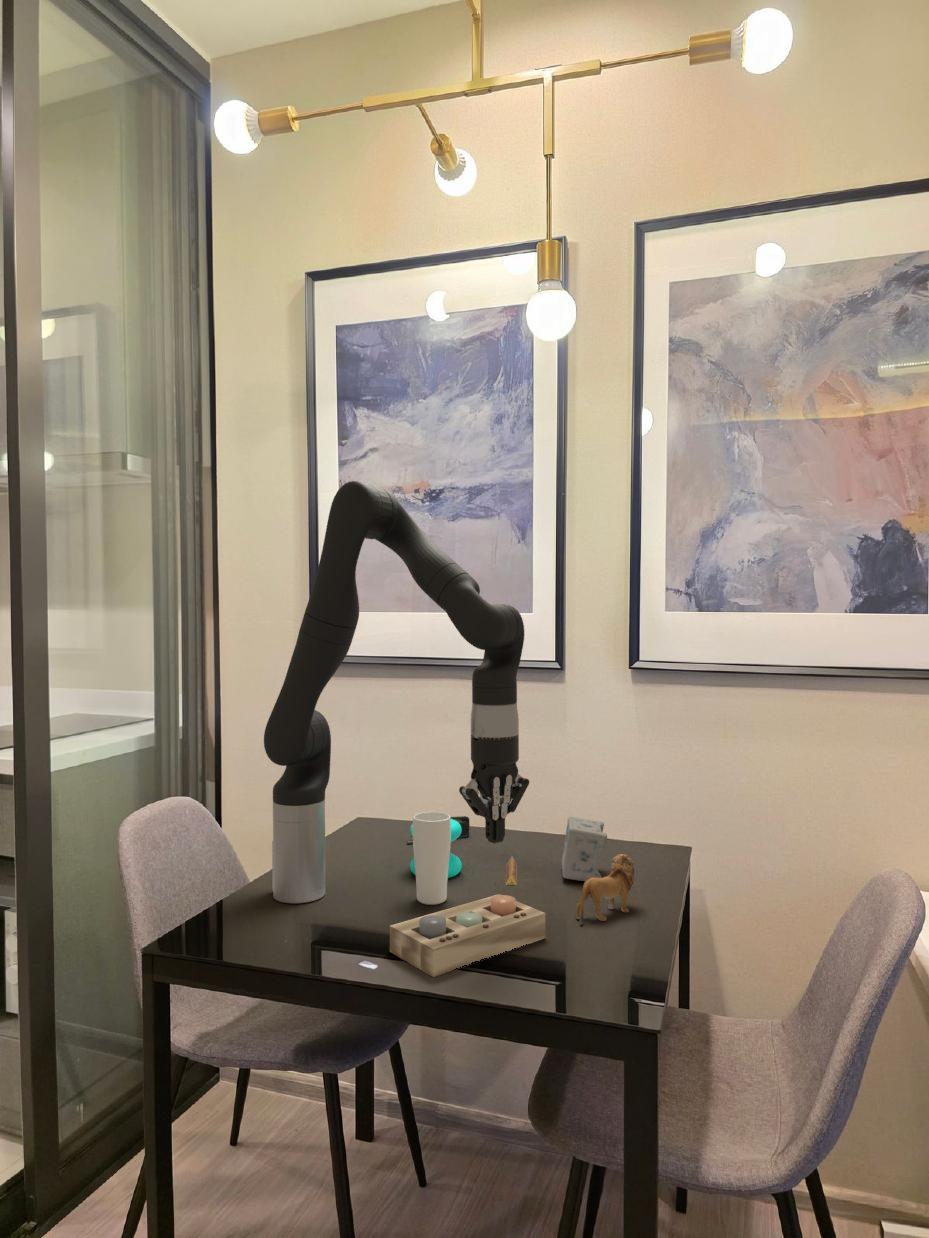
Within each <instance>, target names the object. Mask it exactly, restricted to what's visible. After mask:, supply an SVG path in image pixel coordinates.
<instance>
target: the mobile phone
mask: <svg viewBox="0 0 929 1238" xmlns="http://www.w3.org/2000/svg"><path fill="white" fill-rule="evenodd" d="M450 817H451V819H453V820H455V821H457V822H458V823H459V824H460V825H461V828H462V832H461V834H460V836H459V837H458V838H462V839H466V837H467V838H468V837H469V836H470V818H469V816H465V815H464V816H450ZM412 824H413V822H412ZM412 824H411V825H412ZM410 836H411V838H412V839H411V840H407V841H406V844H408V845H410V844H412V845H413V837H412V835H411V834H410Z"/></svg>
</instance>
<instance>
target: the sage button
mask: <svg viewBox="0 0 929 1238" xmlns="http://www.w3.org/2000/svg"><path fill="white" fill-rule="evenodd" d="M456 923H458V924H460V925H462V926H464V927H466V928H468V927H471V926H474V925H477V924H480V923H482V916H481V915H480V914H477V913H472V912H467V913H461V914H458V915H457V916H456Z"/></svg>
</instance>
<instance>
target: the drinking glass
mask: <svg viewBox="0 0 929 1238" xmlns="http://www.w3.org/2000/svg"><path fill="white" fill-rule="evenodd" d="M451 817H452V816H451V815H450V814H448V813H446V812H441V811H440V812H439V811H425V812H419V813H416V814H414V815H413V817H412V819H413V820H412V823H413V838H412V839H413V843H412V846H413V847H412V848H413V858H414V861H415V874H416V875H415V882H416V884H415V885H416V887H415V888H416V900H417V901H418V902H419V903H420V904H423V905H429V906H430V905H431V906H435V905H441V904H443V903H444V902H445V901H446V900H447V899H448V880H449V878H448V868H449V856H450V853H451V843H452V842H451Z"/></svg>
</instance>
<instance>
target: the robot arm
mask: <svg viewBox="0 0 929 1238" xmlns="http://www.w3.org/2000/svg"><path fill="white" fill-rule="evenodd" d="M327 518H328V519H327V522H326V523H327V524H326V529H325V534H324V539H323V545H322V550H321V554H320V558H319V563H318V566H317V570H316V574H315V578H314V581H313V584H312V585H313V586H312V588H311V591H310V596H309V599H308V600H307V601H308V602H307V605H306V607H305V610H304V614H303V617H302V621H301V624H300V627H299V629H298V630H299V631H298V635H297V639H296V642H295V645H294V650H293V652H292V655H291V658H290V661H289V665H288V668H287V672H286V675H285V678H284V681H283V684H282V686H281V689H280V692H279V694H278V696H277V698H276V701H275V703H274V706H273V708H272V710H271V712H270V715H269V717H268V720H267V723H266V725H265V729H264V733H263V746H264V751H265V753H266V756H267V758H268V759H269V760H270V761H271V762H272V763H273V764H275V765H278V766H281V767H285V769H284V771H283V774H282V775H281V777H280V778H279V779H278V780H277V782H275V784H274V785H273V788H272V843H271V847H272V848H271V850H272V851H271V853H272V854H271V855H272V857H271V859H272V861H271V862H272V865H271V867H272V871H271V872H272V876H271V877H272V885H271V886H272V890H271V891H272V892H273V893H272V894H273V895H272V897H273V899H275V901H278V902H280V903H285V904H304V903H305V904H306V903H310V902H313V901H314V902H315V901H317V900H320V899H322V898H323V897H324V896H325V895H326V789H327V787H328V785H329V781H330V776H331V775H330V774H331V755H332V754H331V753H332V751H331V750H332V735H331V730H330V729H331V728H330V725H329V722H328V721H327V719H326V717H325V716H324V715H323V713H321V712H320V711H318V710H317V709H316V706H317V704H318V701H319V698H320V696H321V694H322V692H324V689H325V687H326V686H327V684H328V683H329V682H330V681H331V679H332V678H333V676H334V675H335V674H336V672H337V671H338V669H339V667H340V666H341V665H342V663H343V662H344V660H345V658H346V656H347V655H348V652H349V650H350V648H351V644H352V642H353V639H354V637H355V631H356V630H357V626H358V621H359V618H360V601H359V600H360V599H359V595H358V587H357V578H356V575H357V574H356V571H357V565H358V560H359V557H360V553H361V550H362V547H363V545H364V541H365V539H366V540H375V541H377V542H379V543H380V544H383V545H384V546H385V547H387V548H389V549H390V550H391V551H393V552H394V553H395V554H396V555H397V556H399V558H400V559H401V560H402V561H403V562H404V564H405V566H406V567H407V569H408V571H409V574H410V576H411V577H412V579H413V580H414V582H415V583H416V585H417V586H419V588H420V589H421V591H423V592H424V594H426V595H427V596H428V598H429V599H431V600H432V601H433V602H434V603H435V604H436V605H437V606H438V607H440V608H441V609H442V610H443V611H444V612H445V613H446V615H447V617H448V618H449V620H450V622H451V623H452V624H453V626H454V627H455V629H456V630H457V631H458V633H459V634H460V636H461V637H462V638H463V639H464V640H465V641H466V642H467V643H469V644H470V645H471V646H472V647H474V648H477V649H479V650H482V651H484V652H483V658H482V662H481V664H480V665H478V666H477V667H475V668H474V670H473V672H472V676H471V679H472V680H471V691H472V692H471V693H472V694H471V697H472V698H471V700H472V703H471V712H470V760H471V763H472V766H473V768H472V771H471V773H470V780H469V782H467V784H466V785H465V786H464V785H462V786H460V787H459V788H458V789H459V790H458V792H459V793H460V795H461V796H462V798H463V799H464V801H465V802H466V804H467V805H468V807H470V809H471V810H472V812H473V813H474V814H475V816H480V817H482V818H484V820H485V824H484V825H485V838H486V839H487V841H488V842H489V843H493V844H499V843H502V842H504V838H505V836H506V817H507V816H508V815H509V814H510V813H515V812H516V809H517V808H518V806H519V805H520V802H521V801H522V798H523V796H524V794H525V792H526V790H527V788H528V787H529V785H530V779H528V778H525V777H523V776H521V774H519V768H518V766H517V762H518V761H519V757H520V753H519V752H520V749H519V747H520V739H519V738H520V735H519V734H520V731H519V722H520V721H519V711H518V683H517V675H518V670H519V666H520V664H521V659H522V658H521V657H522V654H523V649H524V643H525V625H524V621H523V617H522V615H521V613H520V612H519V610H518V609H516V608H515V607H514V606H512V605H510V604H506V603H505V604H503V603H501V604H497V603H496V604H495V603H494V604H491V603H489V602H488V601H487V600H485V599H484V598H483V597H482V596H481V595H480V593H481V589H480V586H479V583H478V582H477V581H476V580H475V578H473V576H472V575H470V574H469V572H467V571H466V570H465V569H464V568H463V567H462V566H461V565H459V564H458V563H457V562H456V561H454V560H453V559H452V558H451V557H450V556H449V555H448V554H447V553H446V552H445V551H444V550H442V549H441V548H440V547H439V546H438V545H437V543H435V542H434V541H433V540H432V539H431V537H429V536H428V535H427V534H426V532H425V531H424V530H423V529H422V528H421V527H420V526H419V525H418V523H417V522H416V521H415V520H414V519H413V517H412V516H411V514H410V513H409V512H408V511H407V509H406V508H405V506H404V505H403V504H402V503H401V501H399V499H398V498H397V497H396V495H394V494H393V492H391V491H390V490H388V489H387V488H384V487H382V486H380V485H377V484H376V485H375V484H371V483H367V482H363V481H359V480H352V481H347V482H345V483H344V484H343V485H341V487H340V488H338V490H337V491H336V493H335V495H334V496H333V499H332V502H331V505H330V509H329V513H328V517H327Z"/></svg>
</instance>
